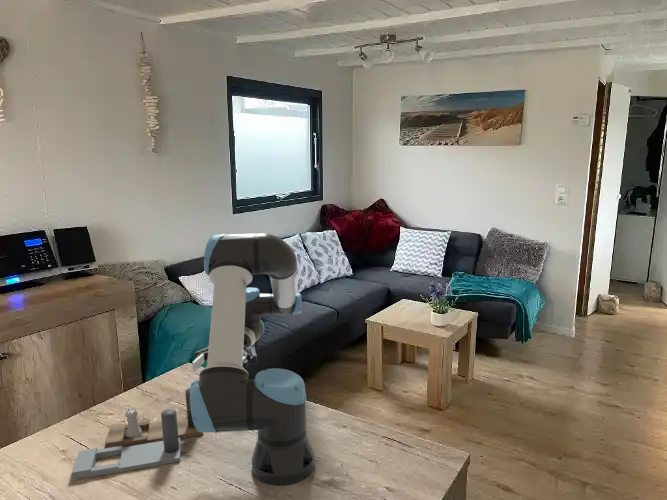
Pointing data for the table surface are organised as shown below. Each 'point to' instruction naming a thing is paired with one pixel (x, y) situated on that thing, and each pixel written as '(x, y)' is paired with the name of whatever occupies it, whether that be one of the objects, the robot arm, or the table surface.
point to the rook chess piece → (132, 424)
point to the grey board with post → (133, 453)
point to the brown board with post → (152, 430)
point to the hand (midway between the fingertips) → (215, 368)
